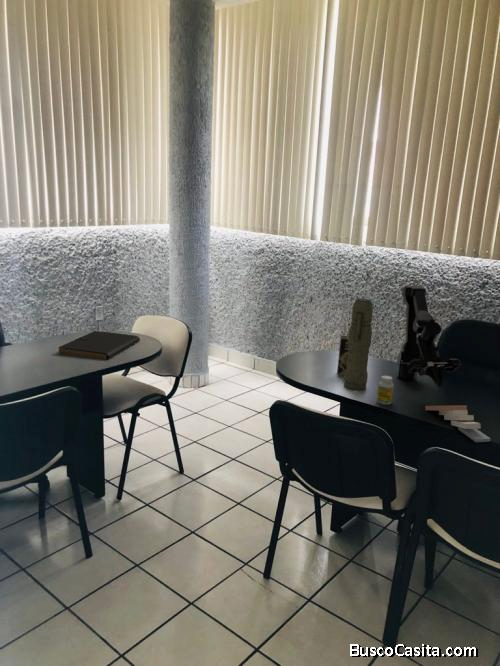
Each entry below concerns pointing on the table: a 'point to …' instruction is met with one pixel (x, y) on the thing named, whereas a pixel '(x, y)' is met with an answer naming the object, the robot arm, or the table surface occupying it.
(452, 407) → the domino
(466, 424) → the domino
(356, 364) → the thermos
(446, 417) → the domino
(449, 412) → the domino
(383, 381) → the supplement bottle
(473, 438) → the domino
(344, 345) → the coffee box
